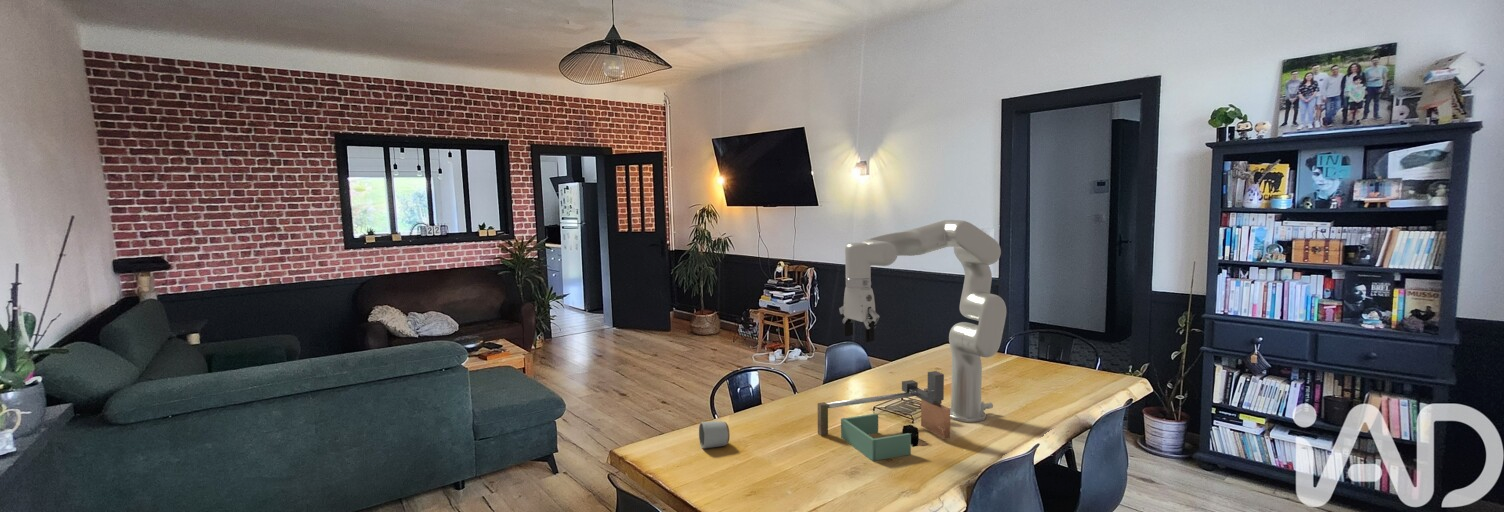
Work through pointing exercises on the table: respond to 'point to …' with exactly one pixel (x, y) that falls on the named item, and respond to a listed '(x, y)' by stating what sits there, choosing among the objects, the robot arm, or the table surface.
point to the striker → (932, 404)
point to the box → (874, 449)
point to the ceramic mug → (713, 434)
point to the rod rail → (824, 406)
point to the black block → (913, 435)
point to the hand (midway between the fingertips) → (858, 338)
